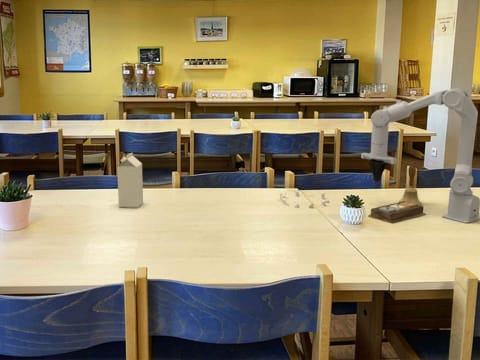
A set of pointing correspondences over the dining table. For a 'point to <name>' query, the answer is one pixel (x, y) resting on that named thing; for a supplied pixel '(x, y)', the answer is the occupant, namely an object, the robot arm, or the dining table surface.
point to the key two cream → (397, 207)
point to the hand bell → (411, 188)
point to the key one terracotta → (407, 204)
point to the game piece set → (309, 196)
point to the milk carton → (130, 182)
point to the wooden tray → (397, 213)
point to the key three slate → (387, 209)
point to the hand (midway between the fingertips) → (377, 180)
